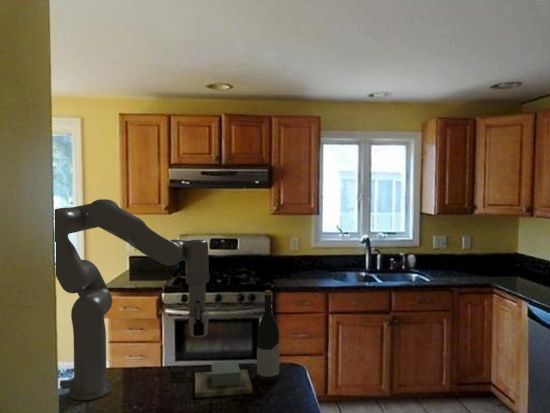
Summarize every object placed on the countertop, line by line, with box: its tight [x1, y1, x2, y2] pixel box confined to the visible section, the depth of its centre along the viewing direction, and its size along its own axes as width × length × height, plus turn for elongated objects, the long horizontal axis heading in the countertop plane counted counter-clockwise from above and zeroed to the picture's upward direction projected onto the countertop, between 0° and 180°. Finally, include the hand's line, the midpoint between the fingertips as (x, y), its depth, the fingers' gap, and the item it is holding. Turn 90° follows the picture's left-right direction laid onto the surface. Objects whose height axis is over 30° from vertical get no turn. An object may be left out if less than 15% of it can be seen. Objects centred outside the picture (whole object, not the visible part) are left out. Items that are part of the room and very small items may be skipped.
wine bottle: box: [256, 289, 280, 382], centre depth 152 cm, size 8×8×30 cm
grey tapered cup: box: [187, 311, 210, 338], centre depth 143 cm, size 7×7×7 cm
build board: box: [194, 368, 253, 398], centre depth 145 cm, size 18×16×2 cm
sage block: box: [211, 361, 241, 386], centre depth 145 cm, size 9×9×4 cm
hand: (198, 331), depth 143 cm, fingers closed on grey tapered cup, 5 cm apart
